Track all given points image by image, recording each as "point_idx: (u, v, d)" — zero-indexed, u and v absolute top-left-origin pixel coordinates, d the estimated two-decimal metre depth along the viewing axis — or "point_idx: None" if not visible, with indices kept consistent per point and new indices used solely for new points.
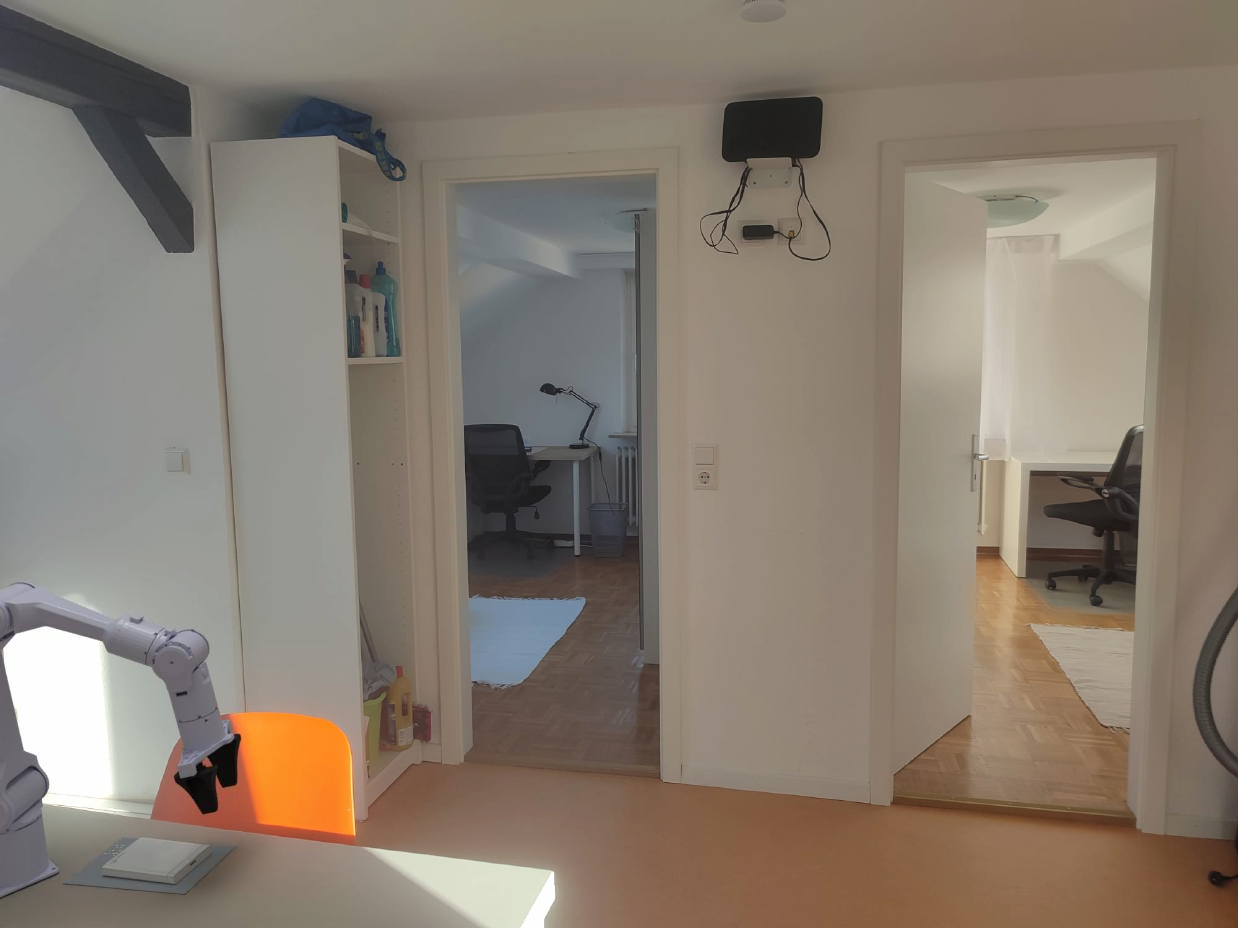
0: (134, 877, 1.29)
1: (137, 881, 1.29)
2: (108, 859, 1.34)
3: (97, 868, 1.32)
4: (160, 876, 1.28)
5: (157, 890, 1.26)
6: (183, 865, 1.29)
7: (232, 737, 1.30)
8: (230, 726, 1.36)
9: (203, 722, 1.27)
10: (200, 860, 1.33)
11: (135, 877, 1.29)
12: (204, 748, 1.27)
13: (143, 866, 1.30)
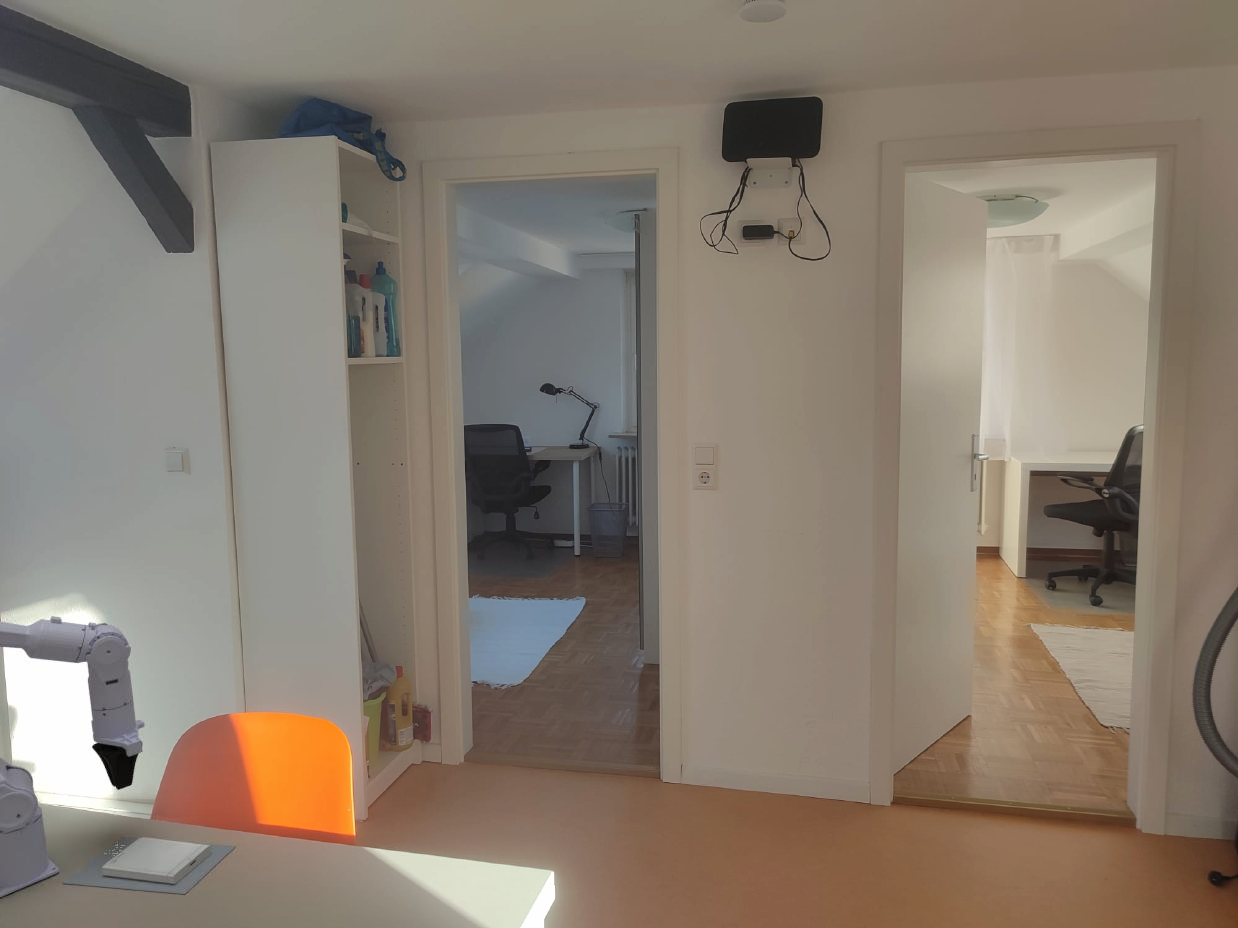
0: (134, 877, 1.29)
1: (137, 881, 1.29)
2: (108, 859, 1.34)
3: (97, 868, 1.32)
4: (160, 876, 1.28)
5: (157, 890, 1.26)
6: (183, 865, 1.29)
7: (142, 722, 1.40)
8: None
9: (130, 707, 1.36)
10: (200, 860, 1.33)
11: (135, 877, 1.29)
12: (129, 732, 1.36)
13: (143, 866, 1.30)
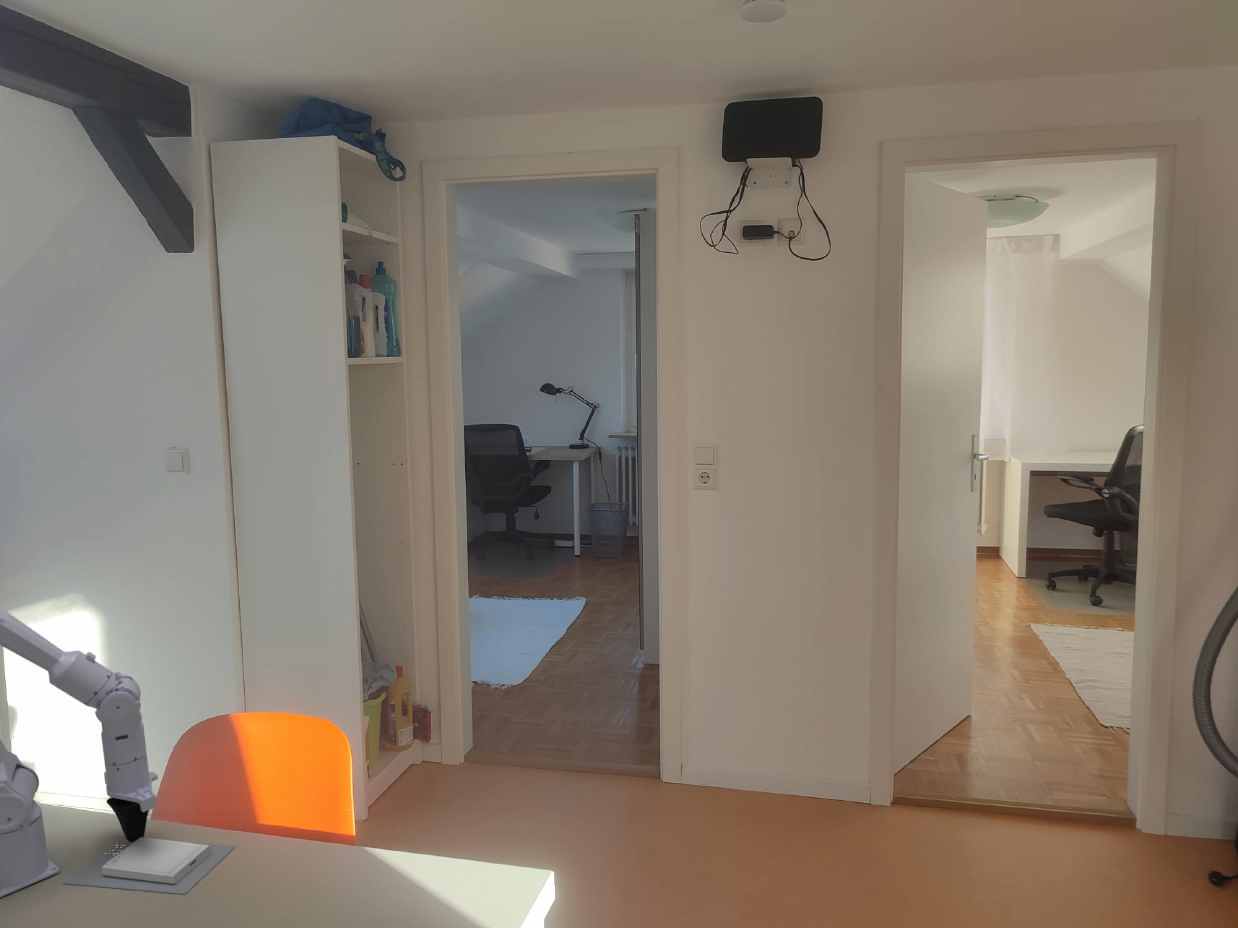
0: (134, 877, 1.29)
1: (137, 881, 1.29)
2: (108, 859, 1.34)
3: (97, 868, 1.32)
4: (160, 876, 1.28)
5: (157, 890, 1.26)
6: (183, 865, 1.29)
7: (155, 774, 1.40)
8: None
9: (143, 761, 1.36)
10: (200, 860, 1.33)
11: (135, 877, 1.29)
12: (143, 786, 1.35)
13: (143, 866, 1.30)
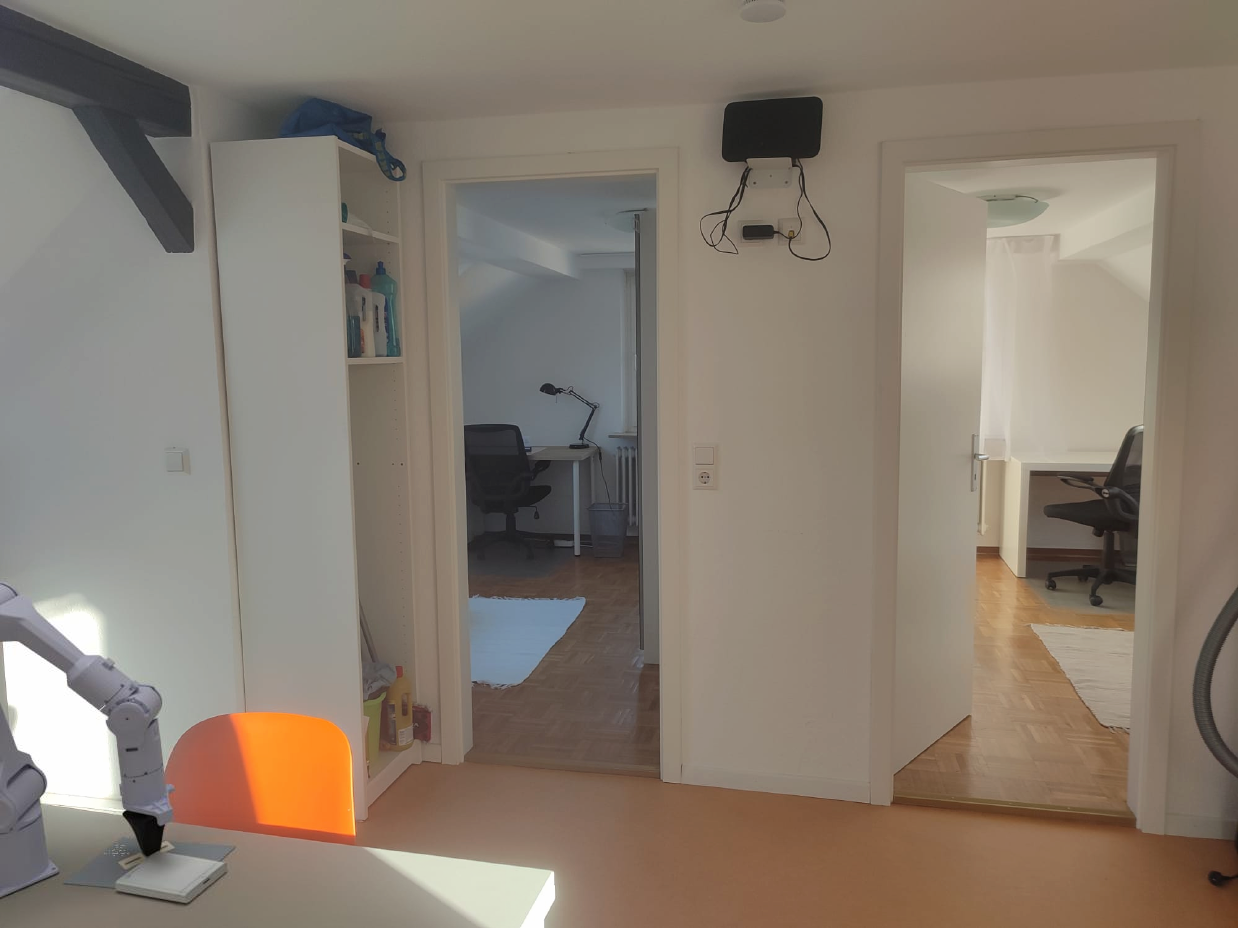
0: (147, 894, 1.25)
1: None
2: (108, 859, 1.34)
3: (97, 868, 1.32)
4: (171, 895, 1.23)
5: None
6: (196, 884, 1.25)
7: (172, 786, 1.36)
8: None
9: (160, 772, 1.32)
10: (214, 878, 1.28)
11: (148, 894, 1.25)
12: (159, 798, 1.31)
13: (156, 883, 1.25)
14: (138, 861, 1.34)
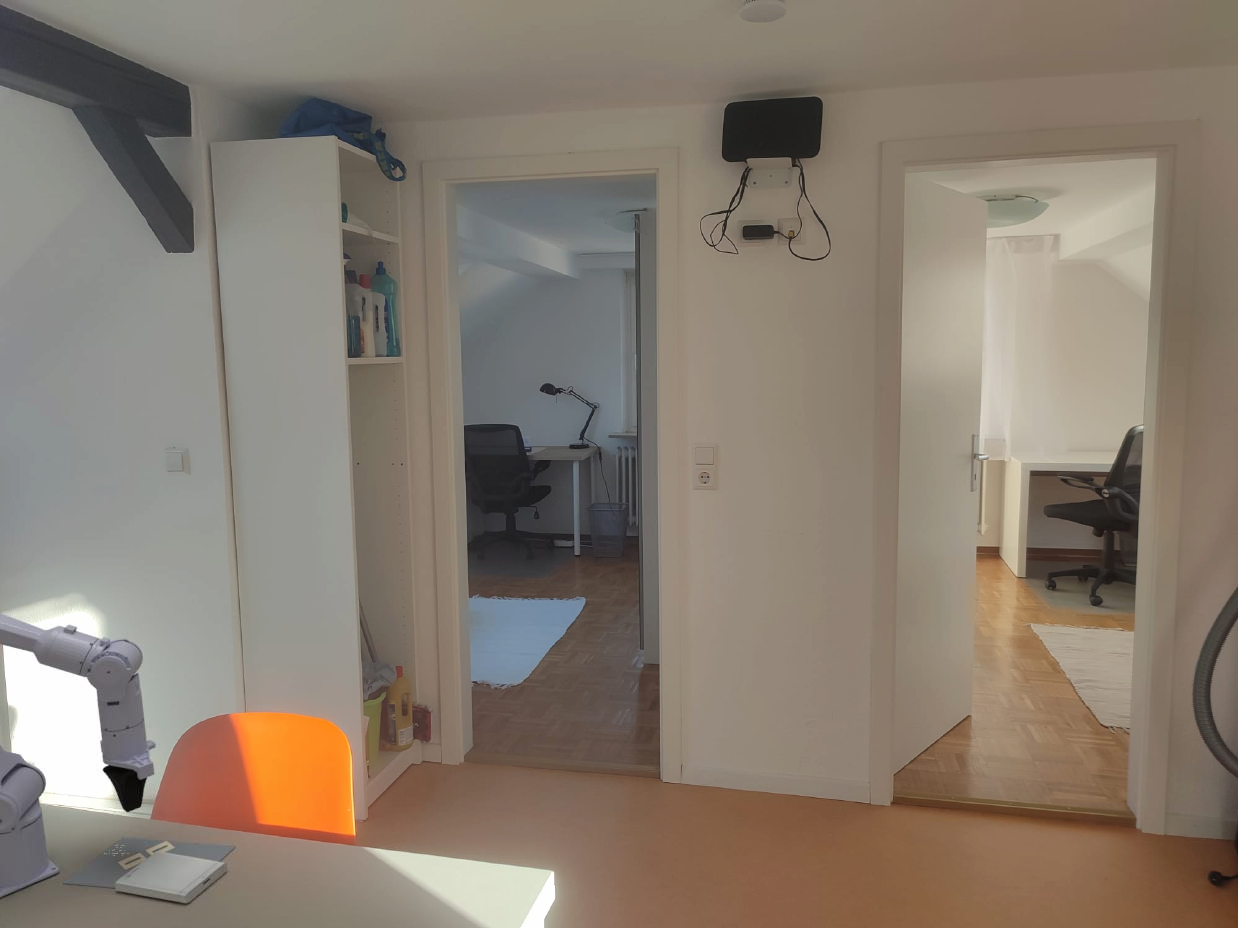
0: (147, 894, 1.25)
1: None
2: (108, 859, 1.34)
3: (97, 868, 1.32)
4: (172, 895, 1.23)
5: None
6: (196, 884, 1.25)
7: (153, 742, 1.35)
8: None
9: (141, 727, 1.31)
10: (214, 878, 1.28)
11: (148, 894, 1.25)
12: (140, 753, 1.31)
13: (156, 883, 1.25)
14: (138, 861, 1.34)
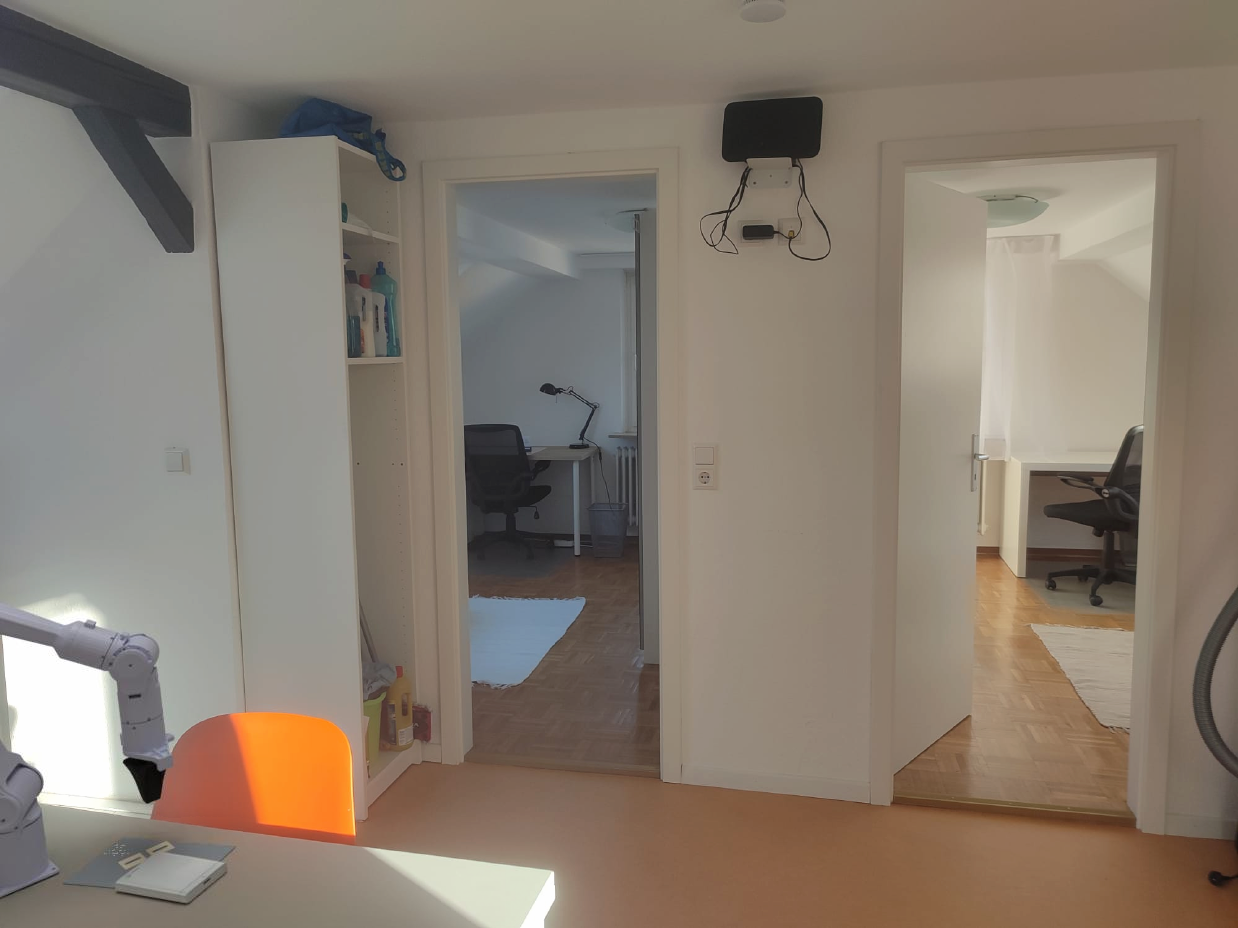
0: (147, 894, 1.25)
1: None
2: (108, 859, 1.34)
3: (97, 868, 1.32)
4: (172, 895, 1.23)
5: None
6: (196, 884, 1.25)
7: (172, 735, 1.37)
8: None
9: (160, 720, 1.33)
10: (214, 878, 1.28)
11: (148, 894, 1.25)
12: (159, 746, 1.33)
13: (156, 883, 1.25)
14: (138, 861, 1.34)
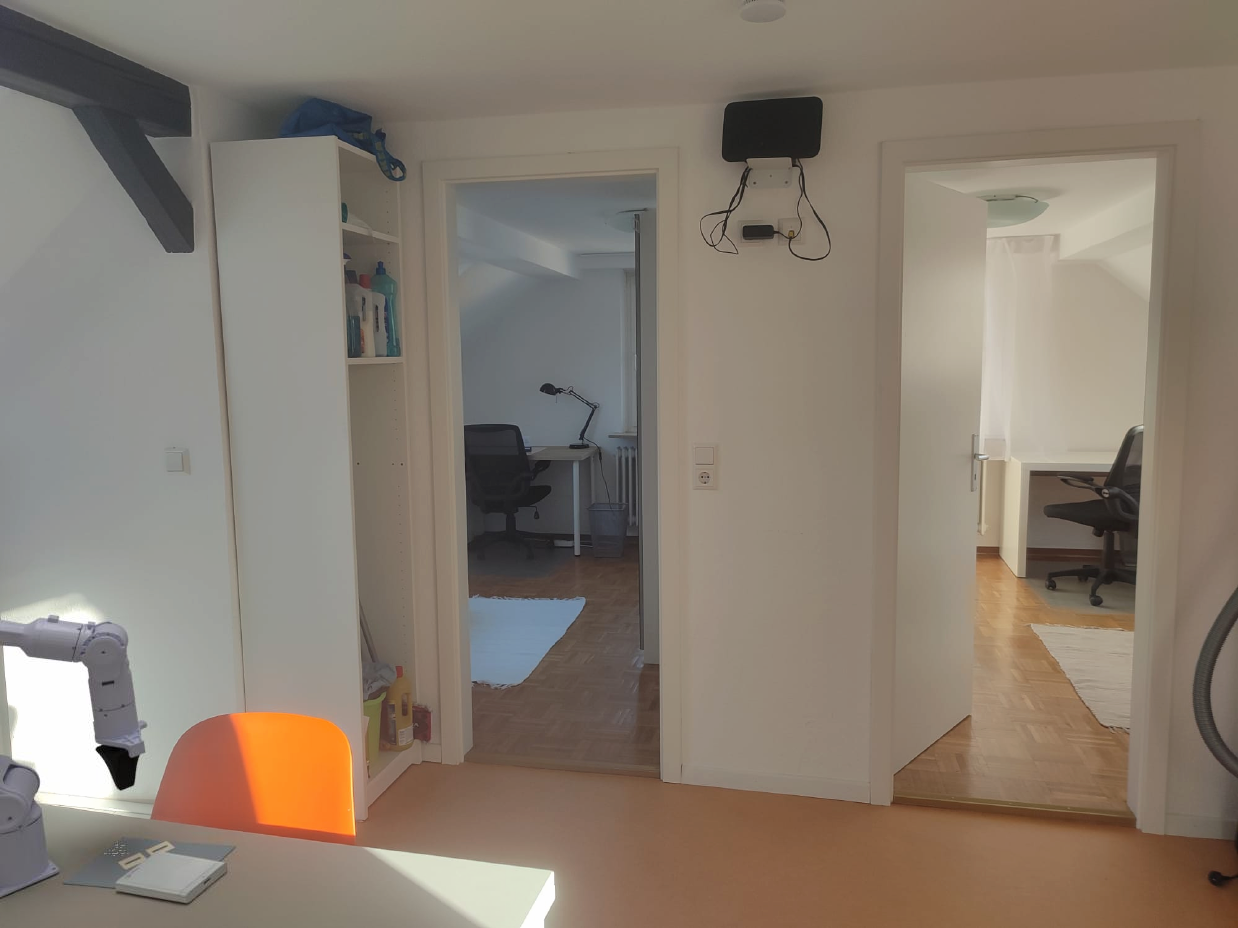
0: (147, 894, 1.25)
1: None
2: (108, 859, 1.34)
3: (97, 868, 1.32)
4: (172, 895, 1.23)
5: None
6: (197, 884, 1.25)
7: (145, 722, 1.38)
8: None
9: (131, 707, 1.34)
10: (215, 878, 1.28)
11: (148, 894, 1.25)
12: (131, 733, 1.33)
13: (156, 883, 1.25)
14: (138, 861, 1.34)
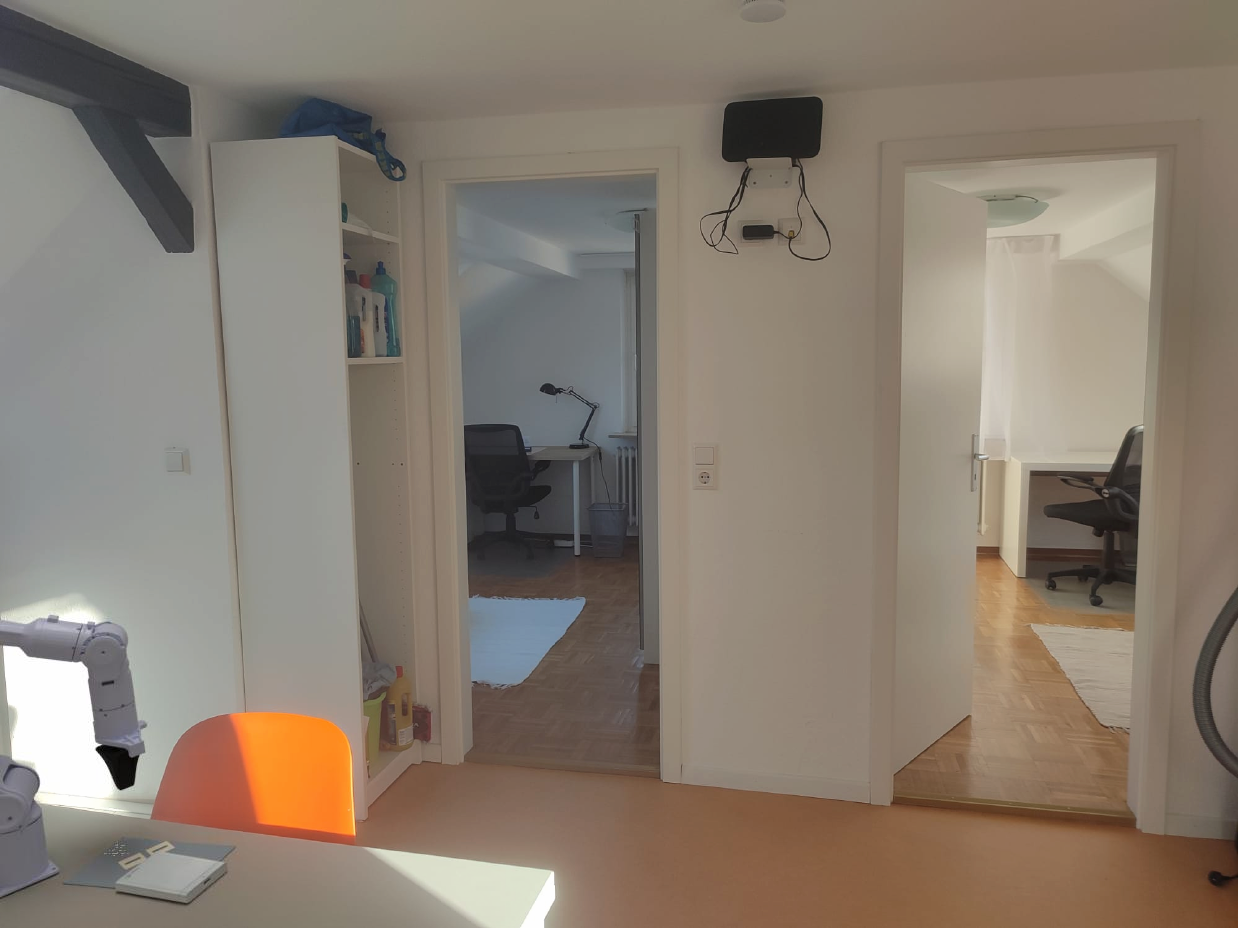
0: (147, 894, 1.25)
1: None
2: (108, 859, 1.34)
3: (97, 868, 1.32)
4: (172, 895, 1.23)
5: None
6: (197, 884, 1.25)
7: None
8: None
9: (131, 707, 1.34)
10: (215, 878, 1.28)
11: (148, 894, 1.25)
12: (131, 732, 1.33)
13: (156, 883, 1.25)
14: (138, 861, 1.34)
